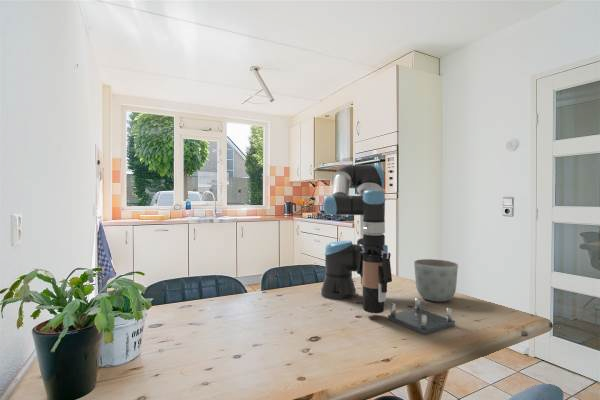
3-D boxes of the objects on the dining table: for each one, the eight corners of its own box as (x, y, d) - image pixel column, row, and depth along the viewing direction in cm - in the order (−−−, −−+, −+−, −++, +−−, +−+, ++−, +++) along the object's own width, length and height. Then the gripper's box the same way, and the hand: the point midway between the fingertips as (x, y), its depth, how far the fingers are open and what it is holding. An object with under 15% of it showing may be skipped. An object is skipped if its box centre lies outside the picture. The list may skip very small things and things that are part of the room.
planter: (460, 297, 137) (460, 261, 137) (455, 308, 123) (455, 268, 123) (418, 291, 146) (419, 257, 146) (409, 300, 132) (409, 263, 132)
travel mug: (385, 314, 109) (385, 256, 109) (362, 312, 110) (362, 255, 110) (383, 306, 116) (384, 252, 116) (362, 305, 118) (362, 251, 118)
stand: (388, 319, 111) (388, 303, 111) (417, 311, 119) (417, 297, 119) (424, 335, 98) (424, 317, 98) (454, 325, 106) (454, 308, 106)
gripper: (347, 231, 120) (346, 291, 120) (387, 237, 102) (387, 308, 103) (362, 230, 124) (362, 288, 124) (404, 236, 106) (403, 304, 106)
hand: (373, 297), depth 113 cm, fingers closed on travel mug, 8 cm apart
